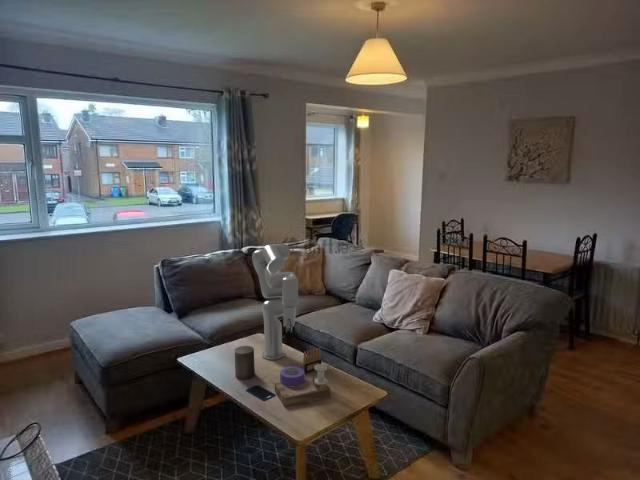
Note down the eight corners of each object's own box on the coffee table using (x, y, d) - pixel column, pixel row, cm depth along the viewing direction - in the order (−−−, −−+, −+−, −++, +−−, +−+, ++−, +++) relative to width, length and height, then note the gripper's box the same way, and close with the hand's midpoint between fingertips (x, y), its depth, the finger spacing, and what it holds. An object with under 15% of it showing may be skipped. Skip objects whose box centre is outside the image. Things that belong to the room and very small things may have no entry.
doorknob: (312, 380, 218) (312, 365, 217) (324, 378, 221) (324, 363, 219) (317, 386, 213) (317, 370, 212) (329, 383, 215) (329, 368, 214)
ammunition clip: (304, 374, 233) (304, 351, 231) (302, 372, 235) (302, 350, 233) (321, 368, 239) (321, 346, 237) (319, 367, 241) (319, 345, 239)
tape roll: (304, 375, 232) (304, 366, 231) (304, 387, 221) (304, 377, 220) (280, 375, 232) (280, 366, 231) (279, 387, 220) (279, 377, 219)
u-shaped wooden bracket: (274, 391, 216) (274, 383, 215) (318, 383, 224) (318, 375, 223) (284, 406, 203) (284, 398, 202) (330, 397, 211) (330, 389, 210)
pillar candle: (258, 375, 232) (257, 346, 229) (242, 381, 225) (241, 352, 222) (247, 369, 239) (246, 341, 236) (231, 375, 232) (230, 346, 229)
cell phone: (263, 402, 207) (263, 400, 207) (244, 391, 217) (244, 389, 217) (276, 396, 213) (276, 394, 212) (257, 385, 222) (257, 384, 222)
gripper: (284, 295, 229) (284, 328, 233) (279, 308, 213) (280, 342, 216) (299, 296, 229) (299, 328, 233) (296, 308, 212) (296, 343, 216)
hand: (290, 335), depth 224 cm, fingers open, 9 cm apart
